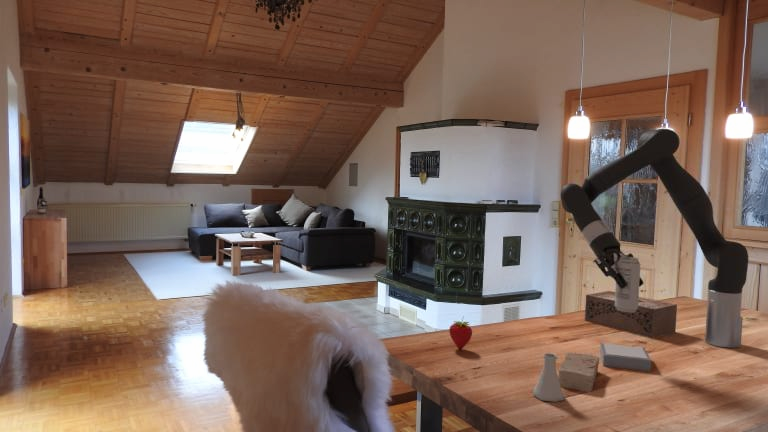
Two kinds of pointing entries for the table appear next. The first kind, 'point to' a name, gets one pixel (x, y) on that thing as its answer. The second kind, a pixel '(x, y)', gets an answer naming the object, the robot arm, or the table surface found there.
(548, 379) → the flask
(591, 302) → the tissue box cover
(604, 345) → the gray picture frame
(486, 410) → the table surface
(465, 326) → the strawberry
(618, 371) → the table surface
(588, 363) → the brick
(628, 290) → the energy drink can
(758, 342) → the table surface
